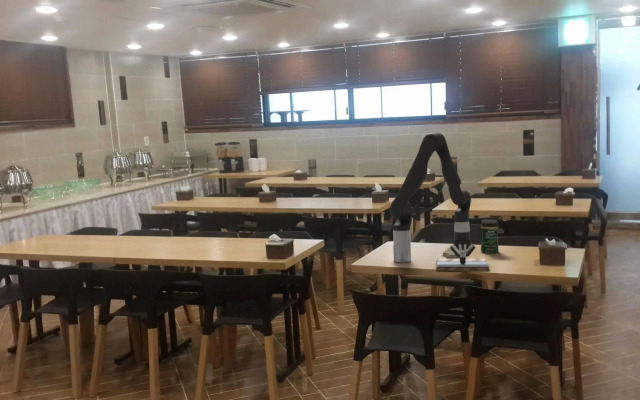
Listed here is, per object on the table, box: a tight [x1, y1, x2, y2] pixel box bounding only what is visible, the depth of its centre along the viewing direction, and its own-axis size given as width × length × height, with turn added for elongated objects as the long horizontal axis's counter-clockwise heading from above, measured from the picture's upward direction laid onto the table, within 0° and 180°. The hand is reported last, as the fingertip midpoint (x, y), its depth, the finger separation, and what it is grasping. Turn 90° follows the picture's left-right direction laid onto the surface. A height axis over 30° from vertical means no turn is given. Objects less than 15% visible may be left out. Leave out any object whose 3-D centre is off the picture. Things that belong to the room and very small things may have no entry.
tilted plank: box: [436, 260, 489, 267], centre depth 313 cm, size 25×8×1 cm, turn 80°
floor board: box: [435, 258, 490, 272], centre depth 316 cm, size 26×16×3 cm, turn 80°
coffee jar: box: [480, 219, 500, 254], centre depth 347 cm, size 10×8×19 cm
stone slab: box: [442, 243, 474, 259], centre depth 349 cm, size 12×4×30 cm
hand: (462, 264), depth 309 cm, fingers closed
